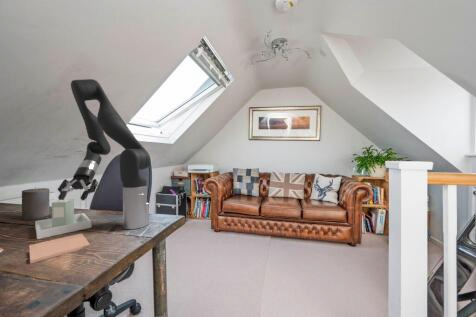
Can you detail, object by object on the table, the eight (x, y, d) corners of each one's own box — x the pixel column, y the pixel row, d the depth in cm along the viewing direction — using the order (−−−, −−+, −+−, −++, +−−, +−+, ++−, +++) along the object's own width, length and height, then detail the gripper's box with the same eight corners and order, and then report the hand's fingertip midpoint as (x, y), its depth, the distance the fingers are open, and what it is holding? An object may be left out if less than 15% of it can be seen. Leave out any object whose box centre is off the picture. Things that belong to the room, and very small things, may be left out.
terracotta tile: (81, 235, 77) (81, 233, 77) (90, 246, 68) (90, 244, 68) (29, 247, 67) (29, 245, 67) (30, 263, 58) (30, 260, 58)
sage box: (61, 225, 85) (60, 199, 85) (74, 225, 86) (73, 199, 86) (51, 230, 80) (51, 202, 80) (65, 229, 81) (65, 202, 81)
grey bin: (83, 220, 95) (83, 212, 95) (91, 229, 84) (91, 220, 84) (35, 229, 83) (35, 221, 83) (37, 241, 72) (36, 231, 72)
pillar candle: (15, 221, 93) (15, 189, 93) (32, 215, 103) (32, 185, 102) (40, 220, 95) (40, 188, 95) (54, 214, 105) (54, 185, 104)
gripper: (66, 166, 96) (48, 195, 84) (99, 166, 98) (85, 194, 87) (74, 176, 101) (57, 204, 90) (105, 175, 103) (92, 203, 92)
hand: (71, 199), depth 88 cm, fingers open, 8 cm apart
